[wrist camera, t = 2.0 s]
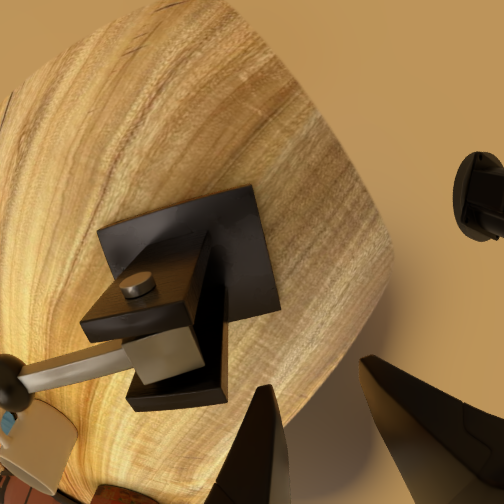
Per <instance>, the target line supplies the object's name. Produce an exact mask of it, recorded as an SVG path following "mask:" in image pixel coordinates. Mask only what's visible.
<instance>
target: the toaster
mask: <svg viewBox="0 0 504 504" xmlns="http://www.w3.org/2000/svg"><path fill="white" fill-rule="evenodd" d="M0 474H1V475H0V504H77V503H75V502H73V501H71V500H70V499H68V498H66V497H64V496H63V495H61V494H59V493H58V492H56V493H55V495H53V496H52V495H48V494H45V493H43V492H40V491H38V490H36V489H35V488H33V487H31V486H29V485H28V484H26V483H25V482H23V481H22V480H20V479H19V478H18V477H16V476H15V475H14V474H12V473H11V472H10V471H9V470H6V469H4V471H1V473H0Z"/></svg>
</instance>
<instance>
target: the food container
mask: <svg viewBox="0 0 504 504" xmlns="http://www.w3.org/2000/svg"><path fill="white" fill-rule="evenodd" d="M90 504H159V503H158V502H156V501H155V500H153V499H151V498H149V497H146V496H144V495H142V494H139V493H137V492H134V491H130V490H127V489H123V488H119V487H115V486H109V485H101V486H98V488H97V490H96V492H95V494H94V496H93V499H92V501H91V503H90Z"/></svg>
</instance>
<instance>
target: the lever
mask: <svg viewBox="0 0 504 504" xmlns="http://www.w3.org/2000/svg"><path fill="white" fill-rule="evenodd" d="M204 366H205V362H204V359H203V356H202V352H201V349H200V346H199V342H198V339H197V336H196V334H195V331H194V329H193V326H188V327H183V328H178V329H173V330H168V331H162V332H157V333H151V334H146V335H140V336H134V337H128V338H122V339H116V340H112V341H109V342H106V343H102V344H99V345H96V346H93V347H89V348H86V349H83V350H79V351H76V352H72V353H69V354H65V355H62V356H58V357H55V358H51V359H48V360H44V361H40V362H37V363H33V364H29V365H26V364H25V363H24V362H23V361H21V360H20V359H19V358H17V357H15V356H13V355H10V354H0V408H2V409H4V410H6V411H8V412H13V413H18V412H22V411H24V410H26V409H27V408H29V407H30V405H31V404H32V402H33V400H34V397H35V392H39V391H44V390H49V389H53V388H58V387H62V386H67V385H71V384H75V383H79V382H83V381H87V380H91V379H95V378H99V377H103V376H106V375H110V374H114V373H117V372H121V371H124V370H128V369H131V368H134V369H135V371H136V373H137V374H138V376H139V377H140V379H141V381H142V382H143V384H144V385H147V384H151V383H154V382H157V381H161V380H164V379H167V378H170V377H174V376H177V375H180V374H183V373H186V372H189V371H192V370H195V369H198V368H201V367H204Z"/></svg>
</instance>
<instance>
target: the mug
mask: <svg viewBox="0 0 504 504" xmlns="http://www.w3.org/2000/svg"><path fill="white" fill-rule="evenodd" d="M5 412H6V410H4V409H2V408H0V443H1V445H2V446H1V448H0V462H1V463H2V464H3V465H4V466H5V467H6V468H7V469H8V470H9V471H10V472H11V473H12V474H14V475H15V476H16V477H18V478H19V479H20V480H22V481H23V482H25V483H26V484H28V485H29V486H31V487H33V488H35V489H36V490H38V491H40V492H43V493H45V494H48V495H52V496H53V495H55V493H56V491H57V488H58V485H59V482H60V480H61V477H62V474H63V471H64V469H65V466H66V464H67V461H68V459H69V456H70V454H71V451H72V449H73V447H74V445H75V442H76V440H77V437H78V434H77V430H76V428H75V427H74V425H73V424H72V423H71V422H70V421H69V420H68V419H67V418H66V417H65V416H64V415H63V414H62V413H61V412H59V411H58V410H57V409H55V408H54V407H52V406H50V405H49V404H47V403H45V402H43V401H40V400H36V399H34V400H33V402H32V404H31V405H30V407H29V408H27V409H26V410H24V411H22V412H18V413H16V414H17V415H18V418H17V419H16V421H15V423H14V425H13V426H12V428H11V430H10V432H9V433H8V435H6V434H5V433H4V432H3V431H2V429H1V419H2V417H3V415H4V413H5Z"/></svg>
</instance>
